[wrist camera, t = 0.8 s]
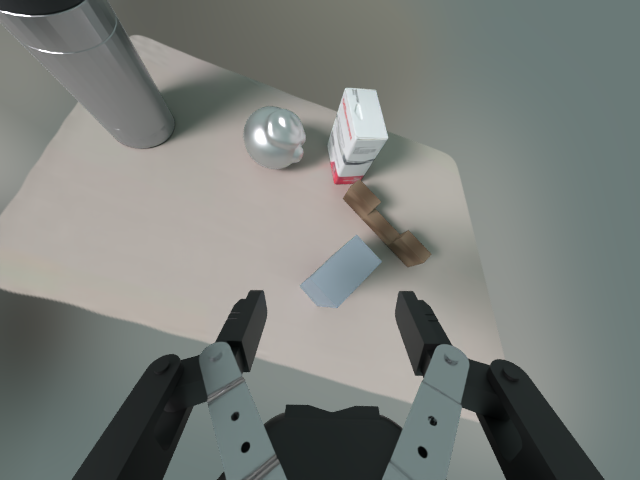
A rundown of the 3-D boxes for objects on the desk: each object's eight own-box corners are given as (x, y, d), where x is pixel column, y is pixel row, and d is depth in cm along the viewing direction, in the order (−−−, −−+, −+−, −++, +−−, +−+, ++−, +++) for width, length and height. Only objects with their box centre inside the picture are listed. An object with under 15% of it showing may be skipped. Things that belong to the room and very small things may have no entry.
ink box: (360, 183, 41) (391, 138, 29) (333, 185, 40) (355, 139, 28) (351, 143, 43) (377, 86, 32) (326, 143, 42) (343, 85, 30)
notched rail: (342, 198, 39) (350, 186, 35) (350, 192, 40) (359, 179, 36) (407, 267, 38) (424, 262, 34) (414, 259, 39) (431, 254, 34)
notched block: (299, 285, 34) (310, 277, 23) (331, 255, 36) (356, 234, 25) (317, 306, 34) (337, 307, 22) (348, 274, 36) (381, 261, 24)
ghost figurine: (273, 192, 37) (272, 154, 28) (236, 152, 38) (222, 102, 28) (313, 163, 40) (323, 119, 31) (277, 126, 41) (277, 73, 31)
